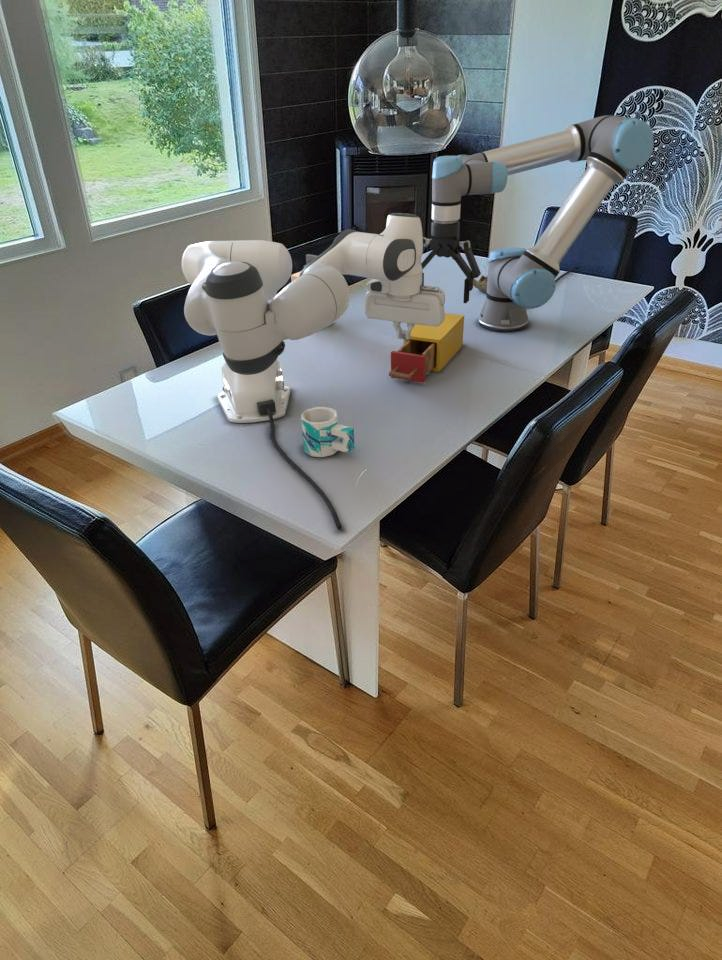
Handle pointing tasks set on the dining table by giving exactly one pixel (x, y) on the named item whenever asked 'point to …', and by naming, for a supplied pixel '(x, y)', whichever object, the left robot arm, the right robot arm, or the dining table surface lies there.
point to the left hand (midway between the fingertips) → (404, 338)
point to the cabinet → (442, 338)
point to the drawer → (413, 360)
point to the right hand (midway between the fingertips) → (443, 299)
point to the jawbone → (481, 283)
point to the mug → (325, 433)
